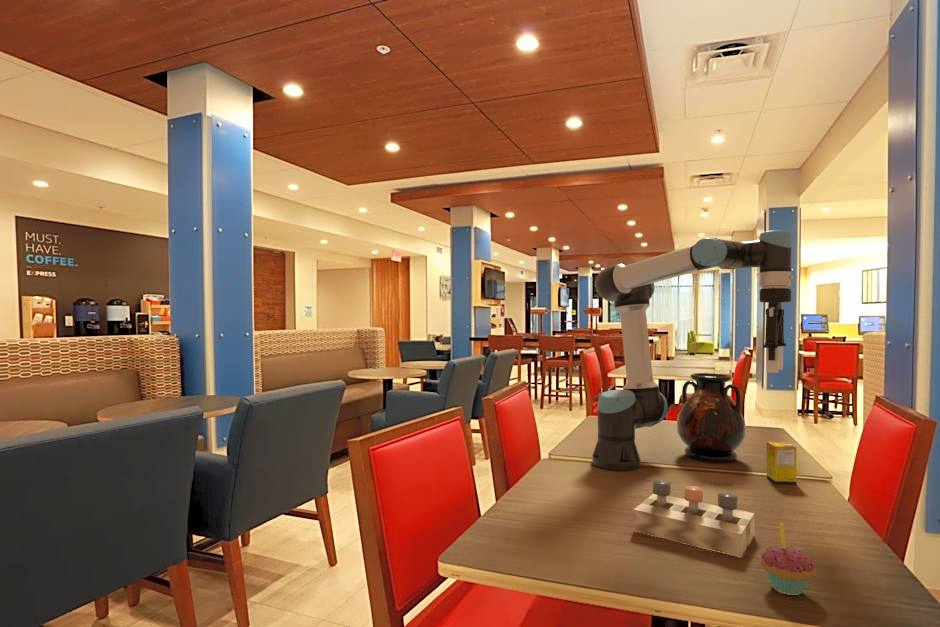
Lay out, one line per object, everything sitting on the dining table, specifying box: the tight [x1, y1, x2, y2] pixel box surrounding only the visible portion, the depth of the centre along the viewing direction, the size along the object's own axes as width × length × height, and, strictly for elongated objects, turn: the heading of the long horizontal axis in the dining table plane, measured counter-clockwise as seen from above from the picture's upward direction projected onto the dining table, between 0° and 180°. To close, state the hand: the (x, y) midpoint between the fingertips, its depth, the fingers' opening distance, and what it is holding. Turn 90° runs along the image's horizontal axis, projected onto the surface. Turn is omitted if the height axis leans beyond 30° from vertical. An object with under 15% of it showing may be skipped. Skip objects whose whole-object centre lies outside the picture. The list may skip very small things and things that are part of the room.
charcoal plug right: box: [717, 492, 739, 521], centre depth 116 cm, size 4×4×5 cm
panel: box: [633, 493, 755, 556], centre depth 121 cm, size 22×14×5 cm, turn 53°
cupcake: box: [760, 517, 817, 594], centre depth 96 cm, size 9×8×12 cm
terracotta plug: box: [683, 485, 704, 513], centre depth 121 cm, size 4×4×5 cm
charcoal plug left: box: [652, 480, 672, 506], centre depth 125 cm, size 4×4×5 cm
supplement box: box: [766, 441, 798, 485], centre depth 158 cm, size 6×6×11 cm
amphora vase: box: [676, 372, 747, 463], centre depth 184 cm, size 22×22×28 cm
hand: (774, 370), depth 148 cm, fingers open, 8 cm apart
